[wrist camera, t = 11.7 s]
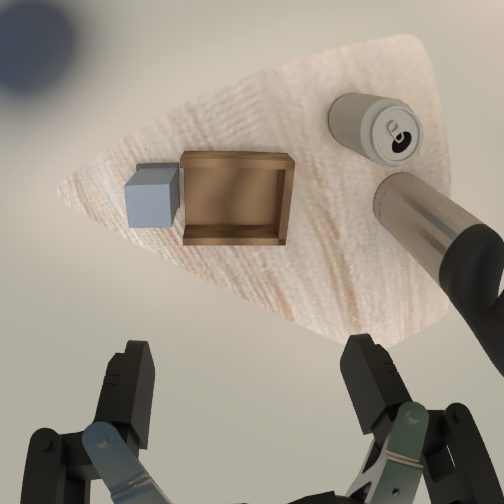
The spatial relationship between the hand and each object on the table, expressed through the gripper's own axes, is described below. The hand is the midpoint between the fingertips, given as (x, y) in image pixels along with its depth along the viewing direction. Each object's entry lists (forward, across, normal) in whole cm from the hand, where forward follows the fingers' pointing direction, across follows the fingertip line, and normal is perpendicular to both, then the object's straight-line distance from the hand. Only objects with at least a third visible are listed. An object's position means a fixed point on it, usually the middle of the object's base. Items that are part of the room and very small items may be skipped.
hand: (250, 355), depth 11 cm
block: (+30, +9, +3) cm, 31 cm away
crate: (+30, -1, +4) cm, 30 cm away
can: (+30, -16, -7) cm, 35 cm away
